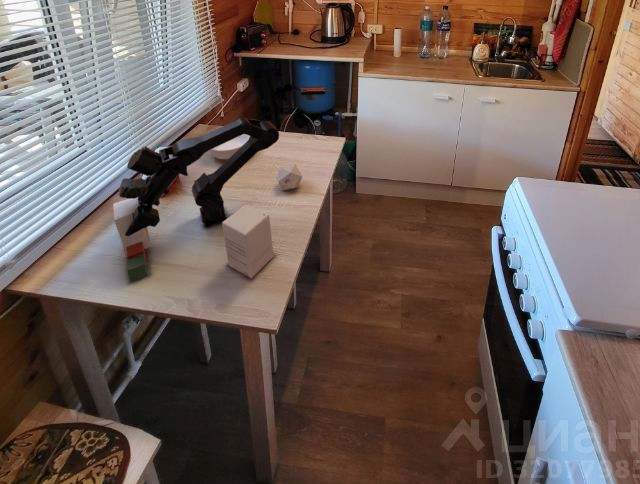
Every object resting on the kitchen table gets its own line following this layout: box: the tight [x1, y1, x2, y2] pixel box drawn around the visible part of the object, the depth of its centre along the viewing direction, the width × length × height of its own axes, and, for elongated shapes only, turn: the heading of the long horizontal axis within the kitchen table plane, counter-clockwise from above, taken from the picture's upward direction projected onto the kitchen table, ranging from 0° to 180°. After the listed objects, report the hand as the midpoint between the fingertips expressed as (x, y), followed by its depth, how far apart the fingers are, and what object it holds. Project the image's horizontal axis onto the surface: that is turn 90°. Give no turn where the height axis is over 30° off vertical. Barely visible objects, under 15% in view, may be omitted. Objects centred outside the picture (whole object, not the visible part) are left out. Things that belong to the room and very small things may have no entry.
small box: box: [112, 197, 152, 257], centre depth 108 cm, size 8×6×13 cm
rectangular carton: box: [221, 203, 275, 279], centre depth 103 cm, size 9×9×15 cm
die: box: [276, 163, 303, 191], centre depth 136 cm, size 8×9×10 cm
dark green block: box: [126, 254, 149, 283], centre depth 101 cm, size 4×4×4 cm
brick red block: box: [125, 242, 147, 262], centre depth 105 cm, size 4×4×4 cm
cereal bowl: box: [208, 134, 250, 160], centre depth 156 cm, size 17×17×7 cm
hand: (125, 225), depth 108 cm, fingers closed on small box, 8 cm apart
